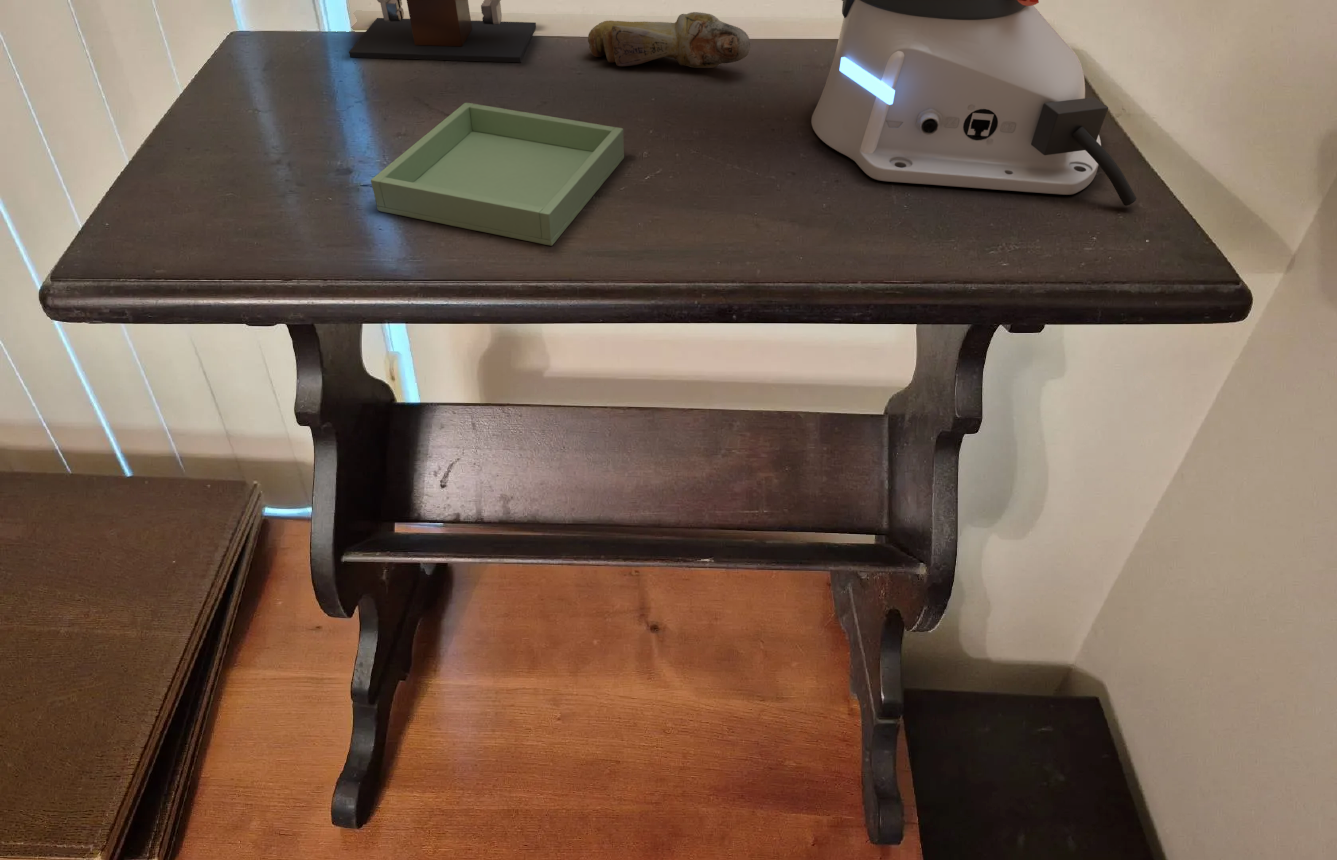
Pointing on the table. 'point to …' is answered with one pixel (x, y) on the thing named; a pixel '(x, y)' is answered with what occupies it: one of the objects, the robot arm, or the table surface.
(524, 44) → the mat
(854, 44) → the robot arm
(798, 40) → the table surface
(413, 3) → the block
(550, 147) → the tray
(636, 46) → the figurine
